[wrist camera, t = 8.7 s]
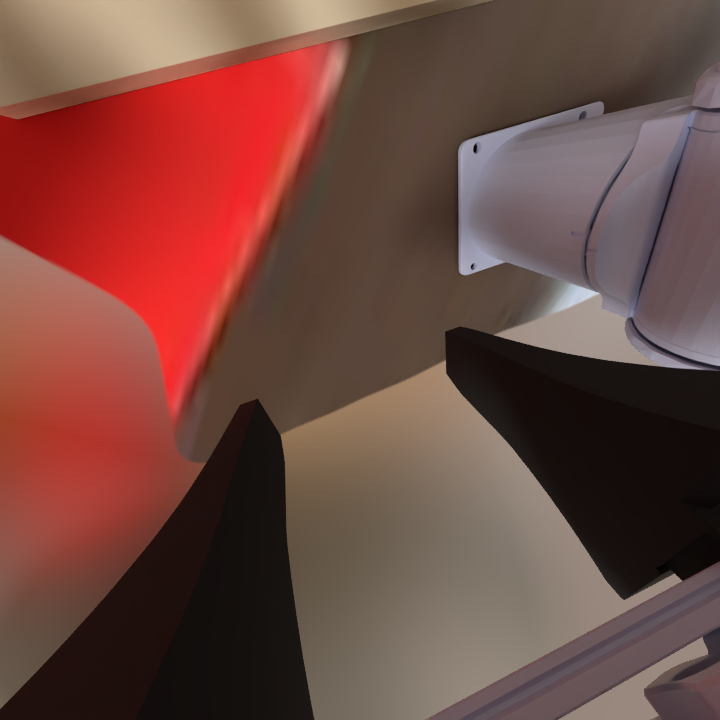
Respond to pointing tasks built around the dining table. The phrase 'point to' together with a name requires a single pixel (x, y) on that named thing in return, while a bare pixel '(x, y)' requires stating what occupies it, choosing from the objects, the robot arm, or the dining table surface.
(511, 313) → the dining table surface
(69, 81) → the pin board
